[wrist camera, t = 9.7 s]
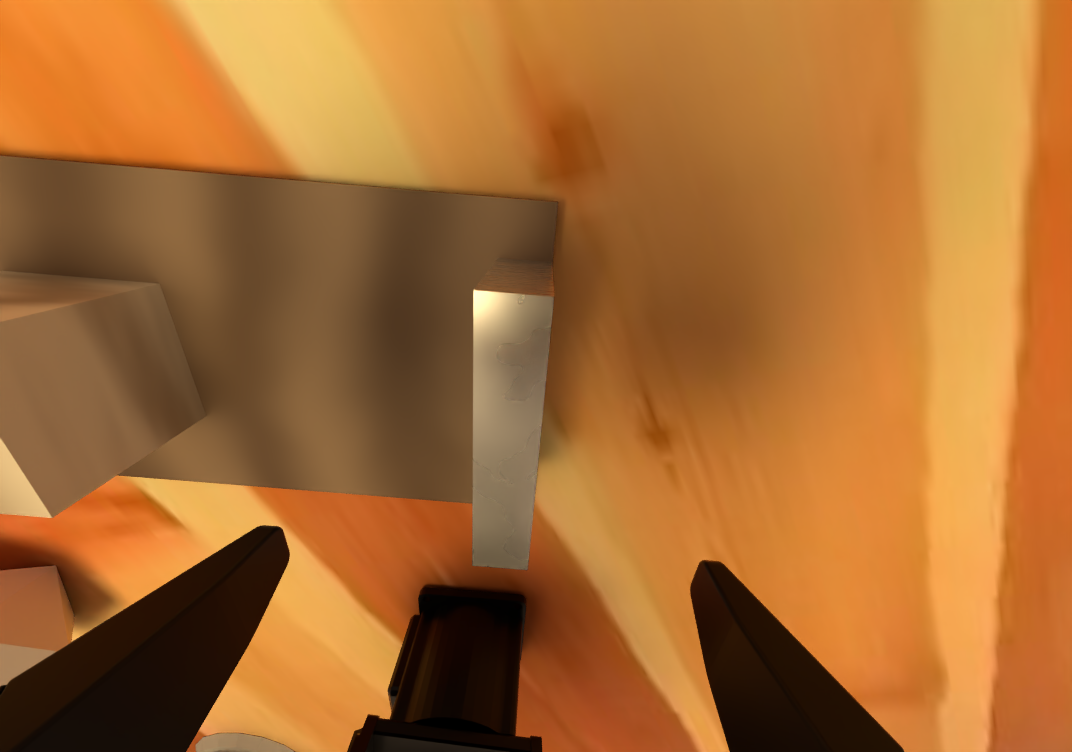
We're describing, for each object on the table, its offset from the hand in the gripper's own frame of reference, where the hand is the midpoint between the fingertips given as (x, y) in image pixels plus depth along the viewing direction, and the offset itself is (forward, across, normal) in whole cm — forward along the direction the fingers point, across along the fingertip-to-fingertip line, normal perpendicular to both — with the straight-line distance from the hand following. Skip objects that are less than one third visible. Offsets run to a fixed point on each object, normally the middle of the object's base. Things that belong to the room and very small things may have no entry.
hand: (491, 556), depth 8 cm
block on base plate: (+10, +11, 0) cm, 15 cm away
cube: (+9, +17, 0) cm, 19 cm away
